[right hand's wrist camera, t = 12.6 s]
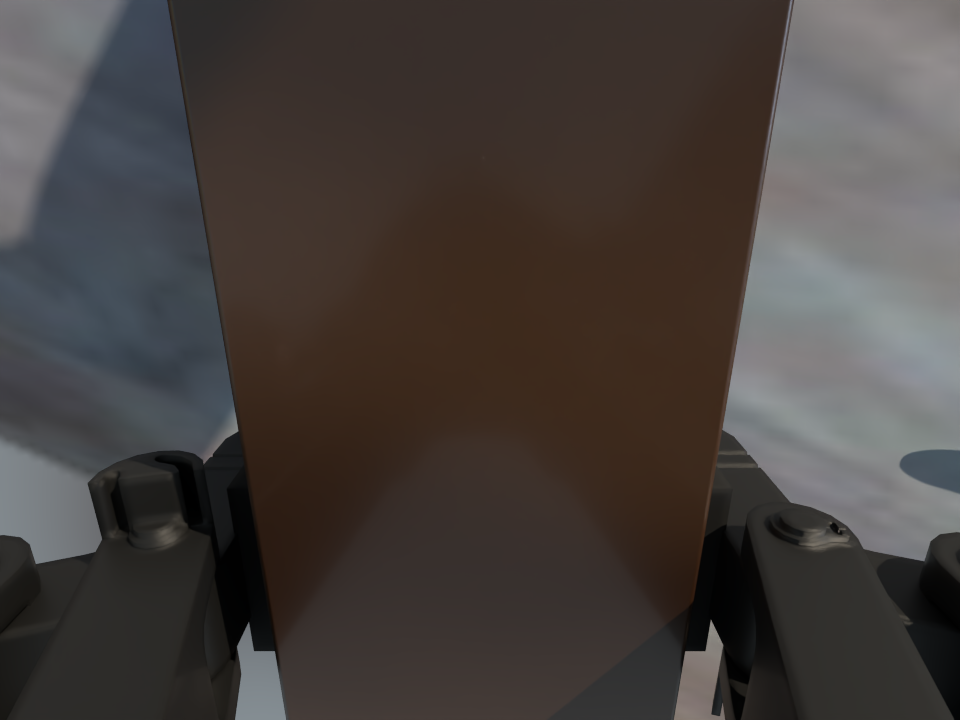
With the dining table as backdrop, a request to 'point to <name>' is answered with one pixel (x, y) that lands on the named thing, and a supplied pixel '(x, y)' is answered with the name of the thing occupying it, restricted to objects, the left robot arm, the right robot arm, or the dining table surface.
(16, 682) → the right robot arm
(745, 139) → the plank
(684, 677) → the dining table surface
